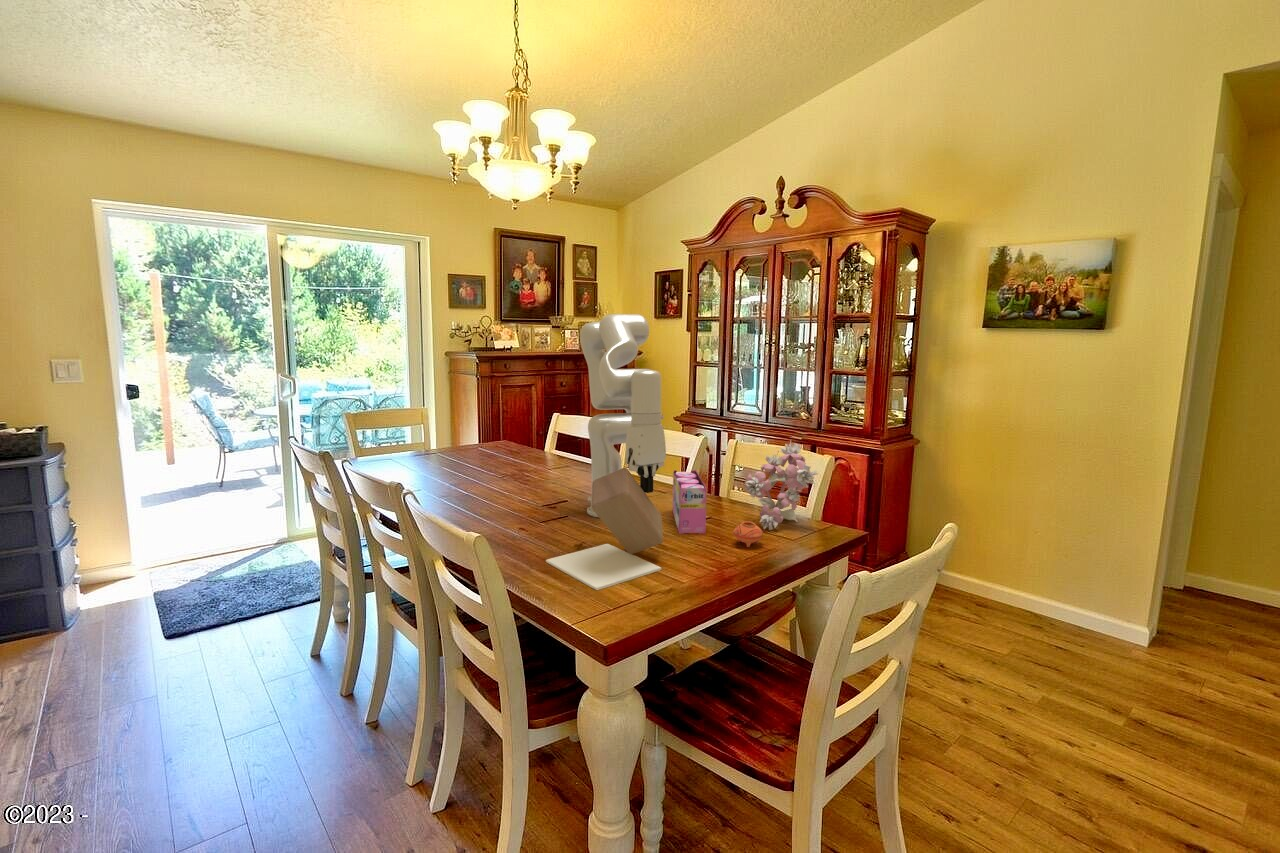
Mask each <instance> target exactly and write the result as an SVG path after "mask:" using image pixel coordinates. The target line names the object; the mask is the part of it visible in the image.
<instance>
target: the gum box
mask: <svg viewBox="0 0 1280 853" xmlns="http://www.w3.org/2000/svg"><path fill="white" fill-rule="evenodd" d="M672 472H673V474H672V480H673V481H672V512H673V516H674V517H673V518H674V520H675V525H676V528H678V529H677V532H678V534H679V535H682V534H683V535H685V534H684V533H699V534H706V530H707V529H706V528H707V525H706V521H707V496H708V495H707V487H706V484H704V481H703V480H702V478H701V476H700V474H699V473H698V471H697V470H695V469H692V470H691V471H690V472H688V471H677V470H676V469H675V470H673V471H672Z"/></svg>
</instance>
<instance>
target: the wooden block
mask: <svg viewBox="0 0 1280 853" xmlns="http://www.w3.org/2000/svg"><path fill="white" fill-rule="evenodd" d="M591 496H592V505H591V504H590V506H592V509H593V511H594V512H595V513H596V514H597V516H598V517H597V518H599V519H600V521H601V522H602V523H603V524H604V526H606V528H607V529H608V530H609V531H610V532H611V534H612V535H613V537H615V539H616V540H617V541H618V542H619V543H620V545H621V546H622V548H624V549H625V550H626V552H628V553H629V554H632V555H635V554H636V553H639V552H642V551H645V550H647V549H650V548H652V547H656V546H658V545H661V544H662V543H663V542H664V531H663V523H662V522H663V521H662V514H661V513H660V511H659V510H658V508H657V507H656V506H655V505H654V503H653V502H652V501H651V499H650V497H649V496H648V495H647V494H646V493H645V492H644V491H643V490H642V488H641V487H640V483H638V482H637V480H636V479H635V477H634V475H633V474H632V473H631V472H630V470H629V468H627V467H623V468H622V469H620V470H617V471H615V472H612V473H610V474H608V475H605V476H603V477H600V478H598V479H595V480H594V481H593V483H592V482H591Z"/></svg>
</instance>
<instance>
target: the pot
mask: <svg viewBox="0 0 1280 853" xmlns="http://www.w3.org/2000/svg"><path fill="white" fill-rule="evenodd" d="M732 534H733V536H734V537H735V538H736V540H737V542H738V543H740V542H742V543H744V544H745V546H746V548H747V547H749V548H750V547H751V544H754V543H755V544H759V541H760V540H761V539H762V537H764V532H763V530H762V529H761V528H760V526H759V525H757V524H756V523H755V522H752V521H749V520H748V521H747V520H746V521H745V520H744V521H743V522H741V523H740V524H738V525H736V526H735V528H734V529H733V532H732Z"/></svg>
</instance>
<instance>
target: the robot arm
mask: <svg viewBox="0 0 1280 853" xmlns="http://www.w3.org/2000/svg"><path fill="white" fill-rule="evenodd" d="M579 336H580V337H579V340H580V346H581V347H580V348H581V350H582V352H583V355H584V359H585V362H586V364H587V369H588V382H589V384H588V385H589V394H590V402H591V405H592V407H593V408H594V409H596V410H602V411H603V410H605V411H607V410H609V411H610V410H624V411H625V412H623V413H621V412H619V413H601V414H600V413H599V414H596V415H594V416H592V417H591V418H590V419H589V421H588V422H587V430H588V431H587V432H588V438H589V445H590V455H591V456H590V459H591V460H590V462H591V484H592V483H593V481H594V480H595V479H598V478H600V477H603V476H605V475H608V474H610V473H612V472H615V471H617V470H620V469H622V462H623V461H622V457H621V456H622V455H621V454H620V452H619V451H618V450H617V449H616V448H615V446H614V445H620V444H625V452H624V454H625V456H624V457H625V463H626V464H627V465H628V470H629V472H630V471H631V472H636V474H637V476H638V477H639V481H640V482H639V485H640V487H641V488H642V490H643V491H644V492H645V494H646V493H647V494H651V493H653V492H654V477H656V473H657V471H658V469H660V468H662V467H664V466H665V461H666V455H667V454H666V452H667V451H666V450H667V448H666V447H667V446H666V437H665V436H666V435H665V430H664V425H663V424H662V420H663V419H664V414H662V375H661V373H660V372H659V371H658V370H653V369H649V368H621V367H625V366H626V365H629V364H630V363H631V362H632V361H634V360H635V359H636V357H637V356H638V353H639V347H640V346H641V345H643V344H645V343H646V342H647V341H648V339H649V336H650V326H649V323H648V320H647V318H646V317H644V316H643V315H642V314H638V313H613V314H612V313H611V314H608V315H605V316H603V317H602V318H601V319H600V321H592V322H591V321H589V322H587V323H585V324H584V325H583V326H582V327H581V329H580V333H579ZM605 350H606V351H605ZM587 501H588V502H590V505H589V507H587V508H586V513H587V515H589V516H591V517H595V518H599V517H598V516H597V514H596V513H595V512H594V511H593V509H592V506H591V505H592V495H591V496H590V497H587Z"/></svg>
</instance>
